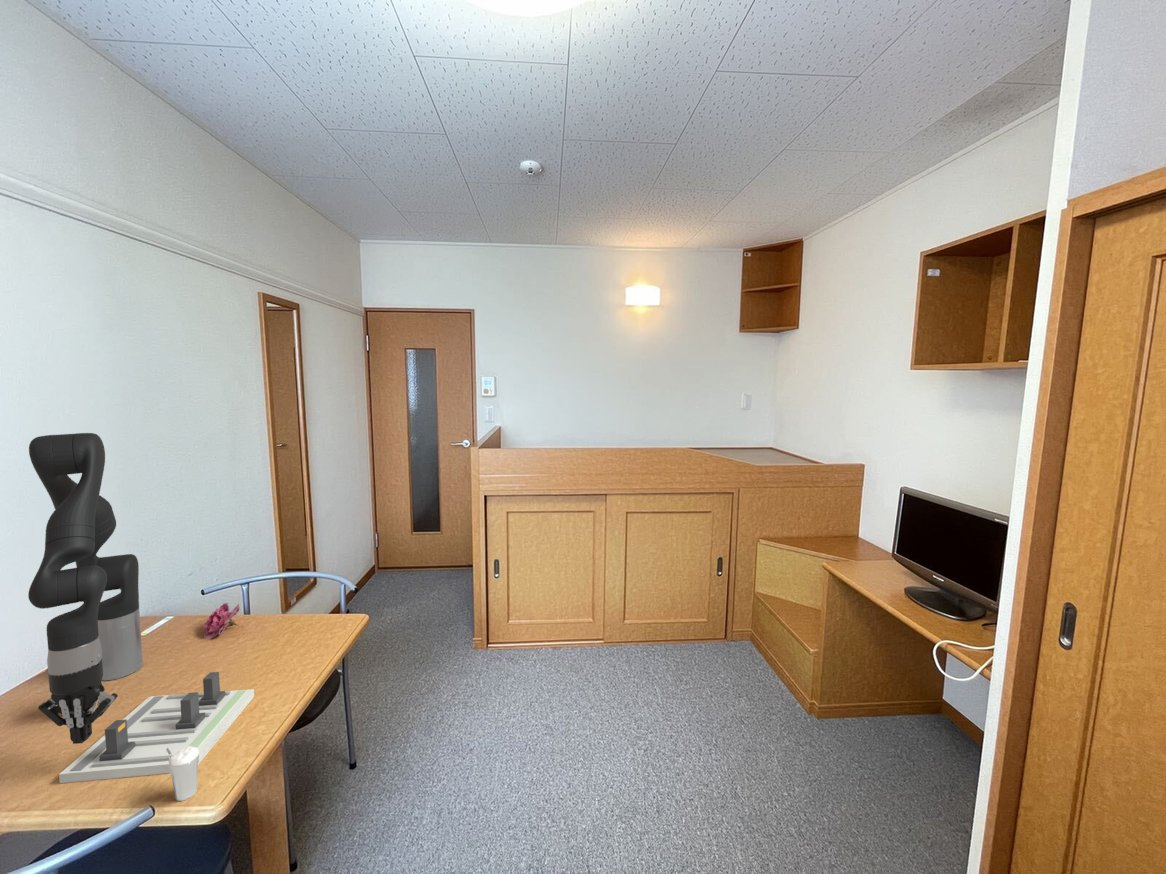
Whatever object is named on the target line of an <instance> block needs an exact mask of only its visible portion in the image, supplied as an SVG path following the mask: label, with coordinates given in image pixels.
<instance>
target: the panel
mask: <svg viewBox="0 0 1166 874" xmlns="http://www.w3.org/2000/svg"><path fill="white" fill-rule="evenodd" d="M220 682H221V681H220V671H211V672H209V673H208V674H207V675H206V676H205V677H204V678H203V679H202V685H203V686H202V688H203V692H197V691H196V692H188V693H181V694H169V695H168V694H167V695H166V694H164V695H154V696H152V695H150V696H148V697H147V698H146V699H145V700H144V701H142V702H141V703H140V704H139V705H138V706H137V707H135V709H133V710H132V711H130V713H128V714H127V715H126V716H125V717H124V718H123V719H122V720H127V733H128V742H134V741H135V747H134V748H133V749H132V750H131V751H130V752H129V753H128V754H127V755H126V756H125V757H124V758H123V759H122V760H111V761H100V759H99V756H100V755H101V754H102V753H103V752H105V751H106V741H105V734H104V735H103V736H101V738H99V739H98V740H97V741H96V742H94V744H93V745H91V746H90V747H89V748H88V749H87V750H85V751H84V752H83V753H82V754H81V755H80V756H78V757H77V758H76V759H74V761H73V762H72V763H70V764H69V765H68V766H67V767H66V768H65V769H63V770H62V771H61V772H59V773H58V778H59V784H66V783H67V784H68V783H78V782H89V781H98V780H99V781H100V780H109V779H120V778H131V777H142V776H150V775H151V776H153V775H162V774H163V775H164V774H171V771H170V767H169V760H170V759H171V757H170V756H169V754H168V752H167V750H166V749H167V748H168V749H169V750H170V752H171V754H172V755H174V754H175V753H177V752H178V751H179V750H181V749H184V748H186V747H188V746H192V747H197V748H198V749H199V761H198V765H200V763H201V762H202V761H203V759H205V757H206V756H207V754H208V753H210V751H211V750H212V748H213V747H214V746H215V745H216V744H217V742H218V741H219V740H220V739H221V737H222V736H223V735H224V734H225V733H226V731H227V730H228V729H229V728H230V727H231V725H232V724H233V723H234V722H235V721H236V719H237V718H238V717H239V716H240V715H241V713H243V711H244V710H245V708H246V707H248V705H249V704H250V702H251V701H252V700H253V699H254V698H255V689H254V688H253V689H252V688H251V689H239V690H238V689H237V690H236V689H235V690H221V689H220V688H221V685H220Z"/></svg>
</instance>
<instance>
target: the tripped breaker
mask: <svg viewBox="0 0 1166 874" xmlns="http://www.w3.org/2000/svg"><path fill="white" fill-rule="evenodd" d="M104 735H105V741H106V751H105V752H103V753H102V754H101V755H100V756H99V759H100V761H111V760H122V759H123V758H124V757H125V756H126V755H127V754H128V753H129V752H130V751H131V750H132V749H133V748H134V747H135V741H134V742H128V733H127V720H123V719H116V720H114V721H113V722H112V723H111V724H109V725H108V726H107V727H106V728H105V729H104Z"/></svg>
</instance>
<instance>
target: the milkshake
mask: <svg viewBox="0 0 1166 874" xmlns="http://www.w3.org/2000/svg"><path fill="white" fill-rule="evenodd" d="M166 750H167V752H168V754H169V756H170V757H171V759H170V760H169V767H170V771H171V773H170V775H171V780H172V786H173V791H174V792H173V793H174V798H175V800H176V801H177V802H183V801H186V800H189V799H190V798H192V797H193V796H194V795H195V794H196V793H197V791H198V777H199V764H198V761H199V749H198V748H197V747H192V746H188V747H186V748H184V749H181V750H179V751H178V752H177V753H175V754H174V755H172V754H171V752H170V750H169V749H168V748H167V749H166Z"/></svg>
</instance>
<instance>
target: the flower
mask: <svg viewBox="0 0 1166 874" xmlns="http://www.w3.org/2000/svg"><path fill="white" fill-rule="evenodd" d="M239 612H240V604H239V603H238V604H237V605H236V606H235V607H234V608H232V610H231V611H230V606H229V603H228V602H225V603H223V604H222V605H221V606H220V607H219V608H218V607H217V608H216V609H215V611H213V612H212V613H211V614H210V616H208V618H207V620H206V622H205V623H204V624H203V630H205V633H204V636H203V638H204V639H205V640H206V639H207V640H210V639H214V638H216V637H217V636H218V635H219V636H221V635H222V634H223V633H224V632H225V630H226V628H228V627H234V626H235V627H236V626H238V624H237V623H236V622H235V621H234V619H233V617H235V616H236V615H237V614H238V613H239Z"/></svg>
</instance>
